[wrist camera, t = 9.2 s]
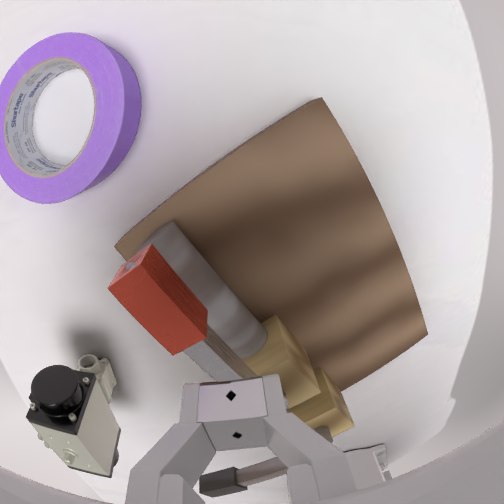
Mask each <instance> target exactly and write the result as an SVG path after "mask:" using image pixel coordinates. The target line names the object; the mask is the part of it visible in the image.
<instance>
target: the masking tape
mask: <svg viewBox="0 0 504 504" xmlns="http://www.w3.org/2000/svg"><path fill="white" fill-rule="evenodd" d="M74 68H81V69H82V70H83V71H84V72H85V74H86V75H87V77H88V79H89V81H90V83H91V86H92V90H93V95H94V116H93V122H92V126H91V130H90V133H89V135H88V138H87V140H86V142H85V144H84V146H83V148H82V149H81V151H80V152H79V154H78V155H77V156H76V158H75V159H74V160H73V161H72V162H71V163H70V164H68V165H67V166H61V165H57V164H54V163H52V162H50V161H49V160H47V159H46V158H45V157H44V156H43V155H42V154H41V152H40V151H39V149H38V147H37V145H36V143H35V140H34V136H33V130H32V120H33V113H34V108H35V105H36V102H37V100H38V98H39V96H40V94H41V93H42V91H43V90H44V88H45V87H46V86H47V85H48V83H49V82H50V81H51V80H52V79H54V78H55V77H56V76H58V75H59V74H61V73H62V72H65V71H67V70H70V69H74ZM140 115H141V94H140V87H139V83H138V80H137V77H136V75H135V73H134V71H133V69H132V67H131V66H130V64H129V63H128V61H127V60H126V59H125V58H124V57H123V56H122V55H121V54H119V53H118V52H117V51H115V50H114V49H112V48H111V47H109V46H107V45H106V44H104V43H103V42H101V41H99V40H98V39H96V38H94V37H92V36H89V35H86V34H82V33H61V34H56V35H53V36H50V37H48V38H46V39H44V40H42V41H40V42H38V43H36V44H35V45H33V46H32V47H31V48H29V49H28V50H27V51H26V52H24V53H23V54H22V55H21V56H20V57H19V58H18V60H17V61H16V62H15V63H14V64H13V66H12V67H11V68H10V70H9V71H8V73H7V74H6V76H5V78H4V79H3V81H2V83H1V85H0V175H1V177H2V178H3V180H4V181H5V182H6V184H7V185H8V186H9V187H10V188H11V189H12V190H13V191H14V192H15V193H17V194H18V195H20V196H21V197H23V198H25V199H27V200H29V201H32V202H36V203H41V204H51V203H58V202H62V201H65V200H67V199H70V198H72V197H74V196H76V195H77V194H79V193H81V192H83V191H85V190H87V189H88V188H90V187H92V186H94V185H96V184H98V183H99V182H101V181H102V180H104V179H105V178H106V177H108V176H109V175H110V174H111V173H112V172H113V171H114V170H115V169H116V168H117V167H118V165H119V164H120V163H121V162H122V160H123V159H124V158H125V156H126V154H127V153H128V151H129V149H130V147H131V145H132V143H133V141H134V138H135V136H136V133H137V129H138V125H139V121H140Z"/></svg>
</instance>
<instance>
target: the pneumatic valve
mask: <svg viewBox="0 0 504 504" xmlns="http://www.w3.org/2000/svg"><path fill="white" fill-rule="evenodd" d="M116 383H117V381H116V379H115V376H114V373H113V370H112V367H111V365H110V362H109V360H108V359H106V358H103V359H101V360H99V359H97V356H95V355H91V354H87V355H83V356H81V358H80V359H79V360H78V368H77V370H72V369H71V368H69V367H67V366H63V365H53V366H49V367H46V368H44V369H43V370H41V371H40V372H39V373H37V375H36V376H35V377H34V379H33V381H32V384H31V394H30V396H29V399H30V400H31V402H32V403H31V404H30V409H29V411H28V413H27V416H26V418H27V419H28V420H29V422H30V423H31V424H32V426H33V427H34V428H35V429H36V431H37V432H38V438H39V439H40V440H44V441H45V442H44V444H45V446H46V447H47V448H51V449H52V450H53V451H54V452H55V453H56V454H57V455H58V456H59V457H60V458H61V459H62V461H64V463H65V464H66V465H67V466H68V467H69V468H72V469H75V470H79V471H83V472H86V473H90V474H94V475H99V476H103V477H108V478H111V477H112V472H113V467H114V466H115V465H116V464H117V462H118V458H119V453H118V450H117V446H118V441H119V436H120V432H121V429H120V427H119V425H118V423H117V421H116V419H115V417H114V415H113V413H112V411H111V409H110V407H109V405H108V404H109V403H110V402H111V400H112V399H111V397H112V395H111V394H112V392H113V387H114V386H116Z"/></svg>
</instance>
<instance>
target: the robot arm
mask: <svg viewBox="0 0 504 504" xmlns="http://www.w3.org/2000/svg"><path fill="white" fill-rule="evenodd" d="M262 379H263V380H262ZM265 446H268V447H269V448H270V450H271V451H272V452H273V453H274V454H275V455H276V456H277V457H278V458H279V459H280V460H281V461H282V462H283V463H284V464H285V465H286V466H287V467H288V468H289V469H288V470H287V483H288V496H289V502H290V504H504V419H502V420H501V421H499V422H498V423H497V424H495V425H494V426H492V427H491V428H489V429H488V430H486V431H485V432H483V433H482V434H480V435H479V436H477V437H475V438H474V439H472V440H470V441H469V442H467V443H466V444H464V445H462V446H460V447H458V448H457V449H455V450H453V451H451V452H450V453H448V454H446V455H444V456H442V457H440V458H438V459H436V460H434V461H432V462H430V463H428V464H426V465H423V466H421V467H419V468H417V469H415V470H412V471H410V472H408V473H405V474H403V475H400V476H398V477H395V478H393V479H392V477H391V474H390V472H389V471H386V472H384V473H383V472H382V471H383V470H384V469H385V468H387V457H386V449H385V445H384V444H382V445H378V446H375V447H372V448H368V449H359V450H353V451H349V452H345V453H344V452H342V451H341V450H340V449H338V448H337V447H336V446H334V445H333V444H331V443H330V442H329V441H327V440H326V439H325V438H323V437H322V436H321V435H320V434H318V433H317V432H316V431H314V430H313V429H312V428H311V427H309V426H308V425H307V424H305V423H304V422H303V421H302V420H300V419H299V418H298V417H297V416H296V415H294V414H293V413H287V411H286V406H285V401H284V397H283V392H282V387H281V382H280V378H279V375H278V374H272V375H266V376H258V377H252V378H244V379H237V380H231V381H220V382H205V383H190V384H185V386H184V388H183V395H182V403H181V412H180V420H179V424H174V425H173V426H172V427H171V428H170V429H169V430H168V432H167V433H166V434H165V435H164V436H163V437H162V438H161V439H160V440H159V441H158V442H157V443H156V444H155V445H154V447H153V448H152V449H151V450H150V451H149V452H148V453H147V454H146V455H145V456H144V457H143V458H142V459H141V460H140V461H139V462H138V463H137V464H136V465H135V466H134V467H133V468H132V469H131V471H130V477H129V482H128V488H127V494H126V500H125V504H205V502H204V501H203V500H202V499H201V498H200V496H199V495H198V494H197V493H196V492H195V491H194V490H193V489H192V488H193V487H194V485H195V484H196V482H197V481H198V479H199V478H200V476H201V475H202V473H203V472H204V470H205V469H206V467H207V466H208V464H209V463H210V461H211V460H212V458H213V457H214V455H215V453H216V451H224V450H234V449H243V448H255V447H265ZM0 504H112V503H107V502H102V501H98V500H94V499H90V498H86V497H82V496H78V495H75V494H71V493H68V492H64V491H61V490H58V489H55V488H52V487H49V486H46V485H44V484H41V483H38V482H36V481H33V480H30V479H28V478H26V477H23V476H21V475H18V474H16V473H14V472H12V471H9V470H7V469H5V468H3V467H1V466H0Z"/></svg>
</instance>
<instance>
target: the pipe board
mask: <svg viewBox="0 0 504 504" xmlns="http://www.w3.org/2000/svg"><path fill="white" fill-rule="evenodd" d="M151 243H152V244H153V245H154V246H155V248H156V249H157V250H158V251H159V253H160V254H161V255H162V256H163V258H164V259H165V260H166V261H167V263H168V264H169V265H170V266H171V267H172V269H173V270H174V271H175V272H176V273H177V275H178V276H179V277H180V278H181V279H182V281H183V282H184V283H185V284H186V285H187V287H188V288H189V289H190V290H191V291H192V292H193V294H194V295H195V296H196V297H197V298H198V299H199V301H200V302H201V303H202V304H203V305H204V306H205V307H206V309H207V310H208V319H207V324H208V325H209V326H210V327H211V328H212V329H213V330H214V331H215V332H216V334H217V335H218V336H219V337H220V338H221V339H222V340H223V341H224V342H225V343H226V344H227V345H228V346H229V347H230V348H231V349H232V350H233V351H234V352H235V353H236V354H237V355H238V356H239V357H240V358H241V359H242V360H243V361H244V362H245V363H246V364H247V365H248V366H249V367H250V368H251V369H252V370H253V371H254V372H255V373H256V374H257V375H258V376H266V375H272V374H278V375H279V378H280V382H281V387H282V391H284V392H285V393H286V396H287V400H288V404H289V410H288V411H287V413H293V414H294V415H296V416H297V417H298V418H299V419H300V420H302V421H303V422H304V423H305V424H307V425H308V426H309V427H311V428H312V429H313V430H314V431H316V432H317V433H318V434H320V435H321V436H322V437H323V438H325V439H326V440H327V441H329V442H330V443H332V442H333V439H332V437H334V436H336V435H338V434H340V433H342V432H344V431H346V430H348V429H350V428H352V427H353V426H355V425H354V423H353V421H352V418H351V416H350V413H349V411H348V408H347V406H346V403H345V401H344V399H343V396H342V394H341V391H343V390H345V389H346V388H348V387H350V386H352V385H353V384H355V383H357V382H358V381H360V380H362V379H363V378H365V377H367V376H368V375H370V374H372V373H373V372H375V371H376V370H378V369H379V368H381V367H383V366H384V365H386V364H387V363H389V362H390V361H392V360H393V359H395V358H396V357H398V356H399V355H401V354H402V353H403V352H405V351H406V350H408V349H409V348H410V347H412V346H413V345H415V344H416V343H417V342H419V341H420V340H421V339H423V338H424V337H425V336H427V335H428V332H427V329H426V325H425V322H424V318H423V315H422V312H421V308H420V305H419V302H418V299H417V296H416V293H415V290H414V287H413V284H412V281H411V278H410V275H409V273H408V270H407V267H406V265H405V262H404V259H403V257H402V254H401V251H400V249H399V246H398V244H397V241H396V239H395V237H394V234H393V232H392V229H391V227H390V225H389V222H388V220H387V218H386V216H385V213H384V211H383V209H382V207H381V204H380V202H379V200H378V198H377V196H376V194H375V192H374V190H373V188H372V186H371V184H370V182H369V179H368V178H367V176H366V174H365V172H364V170H363V168H362V166H361V164H360V162H359V160H358V158H357V156H356V154H355V153H354V151H353V149H352V147H351V145H350V144H349V142H348V140H347V138H346V136H345V135H344V133H343V131H342V130H341V128H340V126H339V124H338V123H337V121H336V119H335V118H334V116H333V114H332V113H331V111H330V110H329V108H328V106H327V105H326V103H325V102H324V100H323V99H322V97H321V98H318V99H314V100H312V101H310V102H308V103H307V104H305V105H303V106H301V107H300V108H298V109H296V110H295V111H293V112H291V113H290V114H288V115H287V116H285V117H283V118H282V119H280V120H279V121H277V122H275V123H274V124H272V125H271V126H269V127H268V128H266V129H264V130H263V131H261V132H260V133H258V134H257V135H255V136H254V137H252V138H251V139H249V140H248V141H246V142H245V143H243V144H242V145H240V146H239V147H237V148H236V149H235V150H233V151H232V152H230V153H229V154H227V155H226V156H224V157H223V158H222V159H220V160H219V161H217V162H216V163H215V164H213V165H212V166H211V167H209V168H208V169H206V170H205V171H204V172H202V173H201V174H200V175H198V176H197V177H196V178H194V179H193V180H192V181H190V182H189V183H188V184H186V185H185V186H184V187H182V188H181V189H180V190H178V191H177V192H176V193H175V194H173V195H172V196H171V197H170V198H168V199H167V200H166V201H164V202H163V203H162V204H161V205H159V206H158V207H157V208H156V209H155V210H153V211H152V212H151V213H150V214H148V215H147V216H146V217H145V218H144V219H142V220H141V221H140V222H139V223H138V224H136V225H135V226H134V227H133V228H132V229H131V230H129V231H128V232H127V233H126V234H125V235H124V236H123V237H122V238H121V239H120V240H119V241H118V242H117V244H116V245H115V246H114V247H115V248H116V250H117V251H118V252H119V253H120V254H121V255H122V257H123V258H124V259H125V260H126V261H128V260H130V259H131V258H132V257H134V256H135V255H136V254H138V253H139V252H141V251H142V250H143V249H145V248H146V247H147V246H149V245H150V244H151ZM262 380H263V379H262ZM288 469H289V468H288V467H287V466H286V465H285V464H284V463H283V462H282V461H281V460H280V459H279V458H278V457H275V458H272V459H269V460H267V461H264V462H261V463H258V464H255V465H252V466H249V467H245V468H242V469H237V468H235V467H231V468H227V469H224V470H220V471H217V472H213V473H209V474H205V475H201V476H200V478H199V490H200V493H201V494H204V495H207V496H210V497H218V496H223V495H227V494H232V493H236V492H240V491H244V490H247V486H248V485H252V484H255V483H259V482H262V481H265V480H269V479H272V478H275V477H278V476H281V475H284V474H287V470H288Z"/></svg>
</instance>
